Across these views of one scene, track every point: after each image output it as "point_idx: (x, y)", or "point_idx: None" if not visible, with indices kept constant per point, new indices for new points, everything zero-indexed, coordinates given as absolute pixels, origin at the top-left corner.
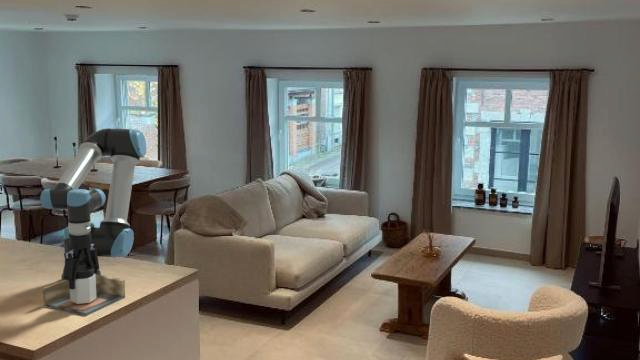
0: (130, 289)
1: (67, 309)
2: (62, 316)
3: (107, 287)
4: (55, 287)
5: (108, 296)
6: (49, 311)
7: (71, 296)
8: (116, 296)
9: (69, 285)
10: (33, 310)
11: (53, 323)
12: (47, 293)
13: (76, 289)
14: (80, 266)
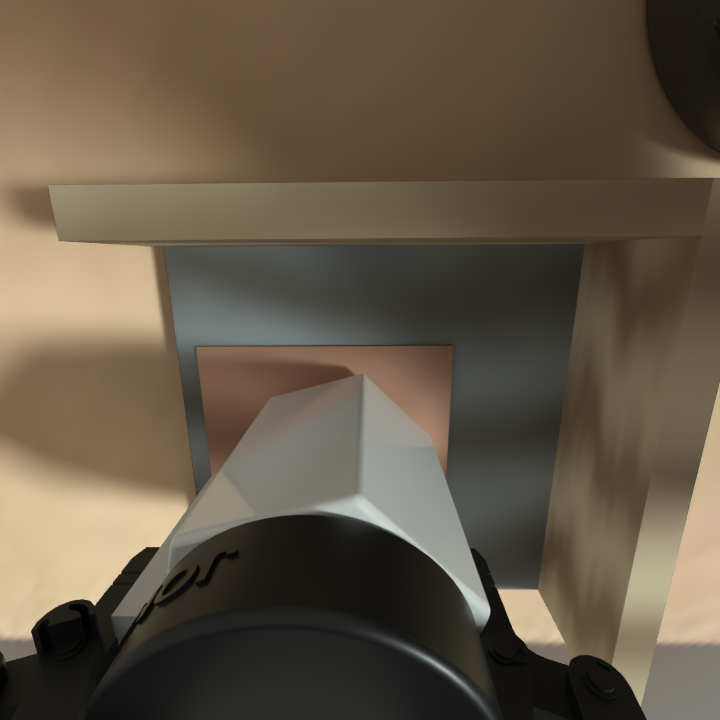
0: (706, 514)
1: (191, 446)
2: (130, 466)
3: (577, 504)
4: (217, 241)
5: (499, 520)
6: (132, 330)
7: (211, 481)
8: (518, 563)
9: (113, 584)
10: None
11: (32, 496)
12: (119, 243)
13: None
14: (372, 708)
